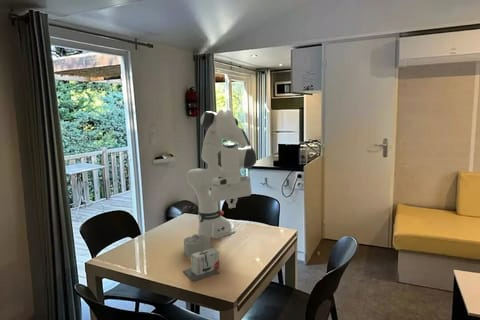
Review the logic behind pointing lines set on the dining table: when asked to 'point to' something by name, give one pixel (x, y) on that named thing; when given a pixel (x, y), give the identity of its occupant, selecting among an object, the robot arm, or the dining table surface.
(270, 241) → the dining table surface
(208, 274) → the mat
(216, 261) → the ink box
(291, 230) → the dining table surface
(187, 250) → the grey chunky block
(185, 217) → the dining table surface
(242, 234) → the dining table surface
